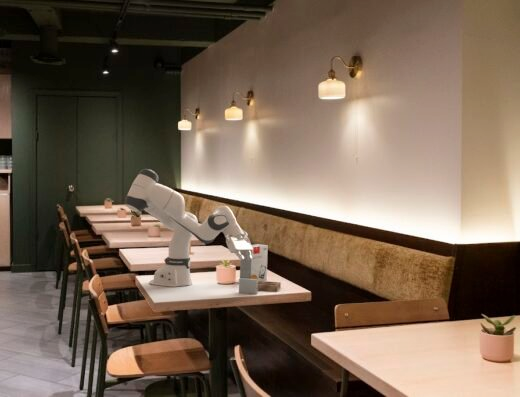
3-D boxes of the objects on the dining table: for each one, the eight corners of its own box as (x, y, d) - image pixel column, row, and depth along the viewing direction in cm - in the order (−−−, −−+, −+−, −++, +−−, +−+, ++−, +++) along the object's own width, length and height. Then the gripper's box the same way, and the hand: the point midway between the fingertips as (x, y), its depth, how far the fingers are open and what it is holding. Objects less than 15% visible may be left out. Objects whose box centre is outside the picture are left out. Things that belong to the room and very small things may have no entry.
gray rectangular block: (257, 279, 323) (240, 278, 325) (256, 280, 320) (239, 279, 322) (257, 292, 323) (240, 291, 325) (256, 294, 320) (238, 292, 322)
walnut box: (254, 289, 330) (254, 284, 330) (258, 286, 340) (258, 280, 340) (277, 291, 328) (277, 285, 327) (280, 287, 337) (280, 282, 337)
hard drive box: (250, 283, 347) (251, 247, 346) (239, 282, 352) (240, 245, 351) (267, 280, 360) (268, 244, 359) (256, 278, 364) (257, 243, 363)
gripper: (229, 231, 311) (242, 256, 307) (248, 232, 330) (260, 256, 326) (219, 238, 313) (232, 263, 309) (238, 238, 332) (250, 262, 328)
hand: (246, 259), depth 318 cm, fingers open, 8 cm apart
